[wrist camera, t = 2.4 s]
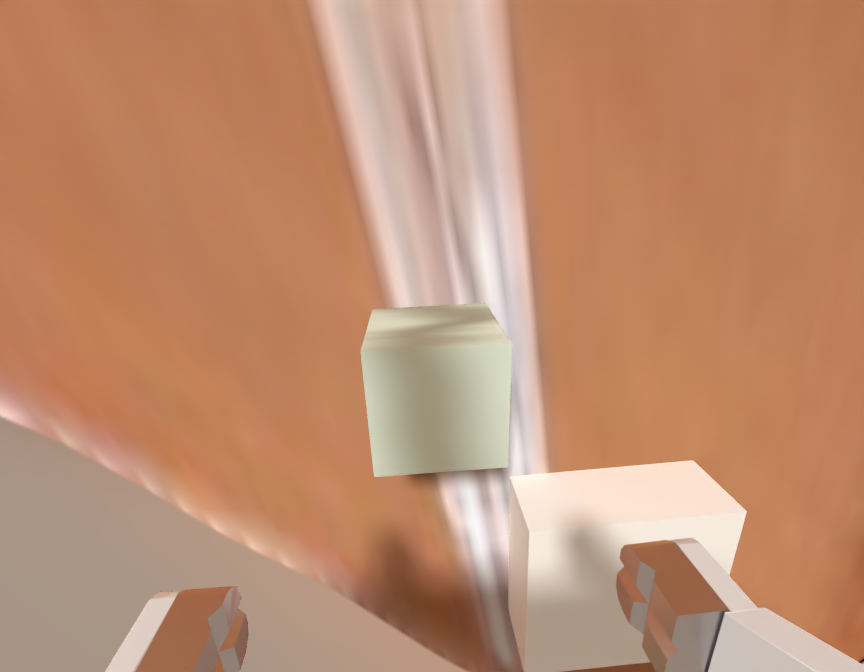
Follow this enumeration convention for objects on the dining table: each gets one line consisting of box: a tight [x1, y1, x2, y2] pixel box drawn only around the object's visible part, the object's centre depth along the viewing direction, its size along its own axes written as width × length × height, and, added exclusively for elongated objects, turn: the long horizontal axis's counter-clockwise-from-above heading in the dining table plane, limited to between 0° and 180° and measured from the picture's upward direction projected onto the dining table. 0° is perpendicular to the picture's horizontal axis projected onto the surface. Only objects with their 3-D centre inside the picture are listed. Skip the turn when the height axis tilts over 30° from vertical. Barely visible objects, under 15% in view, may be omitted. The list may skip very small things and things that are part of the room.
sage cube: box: [361, 303, 512, 477], centre depth 16 cm, size 5×5×5 cm
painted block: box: [508, 460, 747, 672], centre depth 22 cm, size 10×10×4 cm
